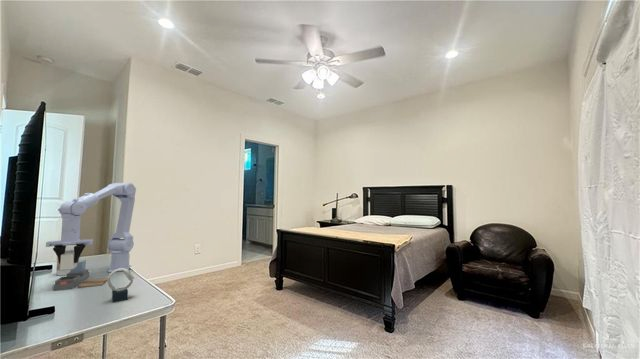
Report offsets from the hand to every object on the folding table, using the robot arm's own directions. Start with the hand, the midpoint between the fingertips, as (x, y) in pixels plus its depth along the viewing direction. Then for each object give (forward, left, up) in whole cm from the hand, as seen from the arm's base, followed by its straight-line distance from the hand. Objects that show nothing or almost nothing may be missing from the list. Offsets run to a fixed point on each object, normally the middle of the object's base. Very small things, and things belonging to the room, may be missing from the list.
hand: (68, 263), depth 110 cm
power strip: (-8, 0, -10) cm, 12 cm away
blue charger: (-10, 0, -8) cm, 13 cm away
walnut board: (-1, +8, -10) cm, 13 cm away
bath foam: (-22, -8, -10) cm, 25 cm away
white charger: (0, 0, -2) cm, 2 cm away
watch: (+23, +23, -10) cm, 34 cm away
